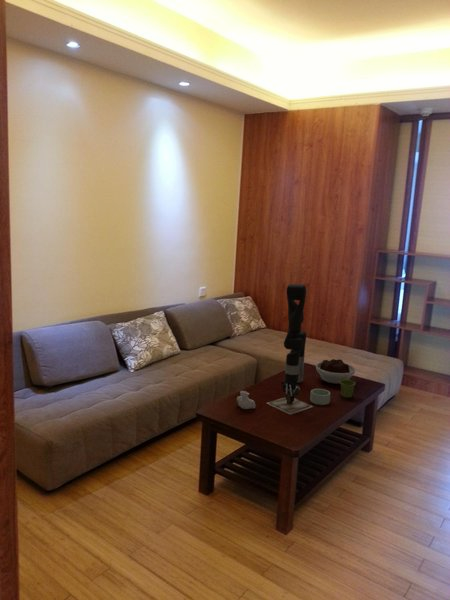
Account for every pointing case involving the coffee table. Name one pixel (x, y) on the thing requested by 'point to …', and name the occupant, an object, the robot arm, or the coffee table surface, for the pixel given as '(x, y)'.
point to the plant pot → (347, 388)
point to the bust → (245, 401)
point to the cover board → (289, 404)
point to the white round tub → (335, 371)
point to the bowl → (320, 396)
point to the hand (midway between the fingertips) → (289, 401)
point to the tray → (291, 412)
